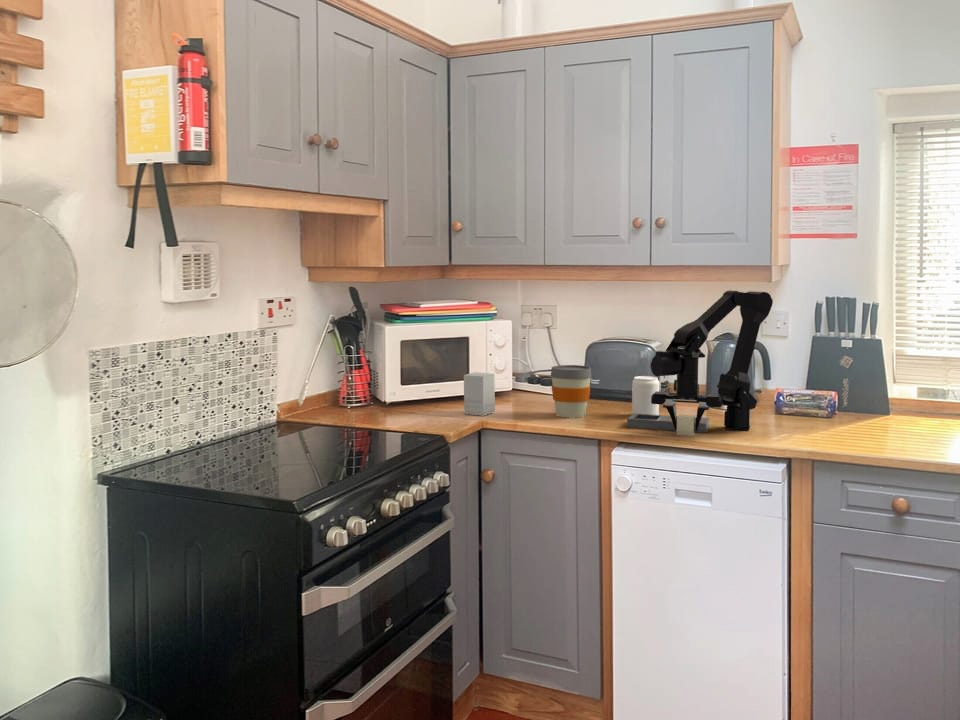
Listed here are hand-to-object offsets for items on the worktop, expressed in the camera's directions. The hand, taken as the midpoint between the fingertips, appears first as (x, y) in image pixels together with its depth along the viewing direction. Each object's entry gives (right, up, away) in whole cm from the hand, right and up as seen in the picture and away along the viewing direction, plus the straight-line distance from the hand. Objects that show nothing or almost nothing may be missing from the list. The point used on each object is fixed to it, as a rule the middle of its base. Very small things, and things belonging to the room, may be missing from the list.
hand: (686, 430), depth 233 cm
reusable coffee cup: (-29, +2, +28) cm, 41 cm away
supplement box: (-57, +2, +33) cm, 66 cm away
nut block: (0, -1, 0) cm, 1 cm away
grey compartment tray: (-3, 0, +10) cm, 10 cm away
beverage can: (-6, +2, +26) cm, 27 cm away
